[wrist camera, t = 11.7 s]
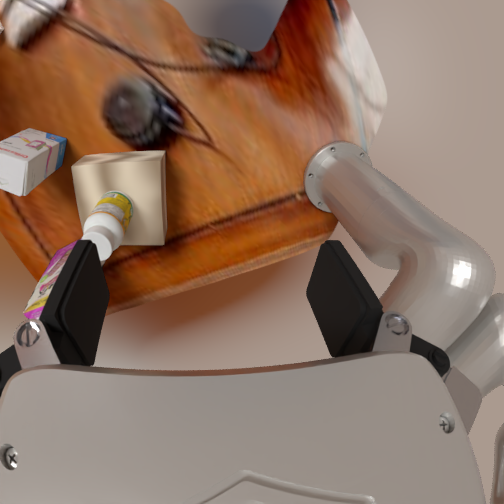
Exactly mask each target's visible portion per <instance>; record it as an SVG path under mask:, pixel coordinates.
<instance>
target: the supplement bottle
mask: <svg viewBox="0 0 504 504" xmlns="http://www.w3.org/2000/svg"><path fill="white" fill-rule="evenodd" d="M132 216H133V203H132V201H131V199H130V197H129V196H128V195H126V194H125V193H123V192H121V191H109V192H107V193H105V194H104V195H103V196H102V197H101V199H100V200H99V202H98V203H97V205H96V206H95V208H94V209H93V211H92V212H91V214H90V215H89V217H88V218H87V220H86V222H85V224H84V230H83V231H84V235H83V237H82V239H81V240H92V242H93V243H95V244H96V246H97V250H98V254H99V258H100V261H103V260H106V259H108V258H109V257H110V255H111V254H112V251H113V250H115V249H117V248H118V247H119V246H120V244H121V243H122V240H123V238H124V235H125V233H126V230H127V228H128V225H129V223H130V220H131V218H132Z"/></svg>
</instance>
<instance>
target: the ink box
mask: <svg viewBox="0 0 504 504" xmlns="http://www.w3.org/2000/svg"><path fill="white" fill-rule="evenodd" d="M66 142H67V139H66V138H63V137H60V136H57V135H53V134H49V133H46V132H42V131H38V130H34V129H31V128H28V129H26V130H24V131H22V132H19V133H17V134H15V135H13V136H11V137H9V138H7V139H5V140H3V141H1V142H0V189H3V190H5V191H8V192H10V193H13V194H16V195H18V196H21V195H24V196H26V195H27V194H28V193H29V192H30V191H32V190H33V189H34V188H35V187H36V186H37V185H38V184H40V183H41V182H42V181H43V180H44V179H46V178H47V177H48V176H49V175H51V174H52V173H53V172H54V171H56V170H57V169H58V168H60V167H61V166H62V163H63V157H64V152H65V147H66Z"/></svg>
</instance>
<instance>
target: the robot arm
mask: <svg viewBox="0 0 504 504" xmlns="http://www.w3.org/2000/svg"><path fill="white" fill-rule="evenodd" d="M331 148H332V149H331ZM330 149H331V150H330ZM309 174H310V175H309ZM304 189H305V192H306V194H307V196H308V198H309V199H310V201H311V202H312V203H313V204H314V205H315V206H316V207H317V208H319V209H321V210H323V211H326V212H331V213H333V214H334V215H335V217H336V218H337V219H338V220H339V222H340V223H341V224H342V225H343V227H344V228H345V229H346V231H347V232H348V233H349V234H350V236H351V237H352V238H353V240H354V241H355V242H356V243H357V245H358V246H359V248H360V249H361V250H362V251H363V253H364V254H365V255H366V257H367V258H368V259H369V260H370V261H372V262H373V263H374V264H376V265H378V266H380V267H383V268H387V269H395V270H399V272H398V274H397V275H396V277H395V278H394V280H393V281H392V282H391V283H390V286H389V287H388V288H387V290H386V291H385V293H384V294H383V295H382V296H381V297H380V298H379V299H378V298H377V296H376V294H375V293H374V291H373V290H372V288H371V287H370V285H369V283H368V282H367V280H366V279H365V277H364V276H363V274H362V273H361V271H360V270H359V268H358V267H357V265H356V264H355V262H354V261H353V259H352V258H351V256H350V255H349V254H348V252H347V250H346V249H345V248H344V246H343V245H342V243H341V242H340V241H338V240H327V241H325V243H323V244H321V246H320V250H319V253H318V256H317V259H316V262H315V266H314V269H313V272H312V275H311V278H310V281H309V284H308V287H307V291H306V292H307V293H306V294H307V298H308V301H309V303H310V305H311V308H312V310H313V313H314V315H315V318H316V320H317V322H318V325H319V327H320V330H321V332H322V335H323V337H324V340H325V342H326V345H327V347H328V350H329V352H330V355H331V356H332V357H335V358H329V359H323V360H316V361H309V362H302V363H294V364H285V365H277V366H267V367H254V368H242V369H225V370H224V369H223V370H192V371H191V370H190V371H189V370H188V371H167V370H163V371H162V370H135V369H119V368H104V367H92V366H93V365H94V362H95V357H96V352H97V347H98V342H99V338H100V334H101V329H102V325H103V321H104V317H105V313H106V309H107V306H108V302H109V290H108V287H107V283H106V280H105V276H104V273H103V269H102V265H101V262H100V258H99V254H98V250H97V246H96V244H95V243H93V242H92V240H78V241H77V242H76V244H75V245H74V247H73V249H72V251H71V253H70V254H69V256H68V258H67V260H66V262H65V264H64V266H63V268H62V270H61V272H60V274H59V275H58V277H57V279H56V281H55V283H54V285H53V287H52V290H51V292H50V294H49V296H48V298H47V301H46V303H45V305H44V307H43V310H42V312H41V315H40V317H39V320H38V319H34V318H32V319H28V320H25V321H23V322H22V323H21V324H20V325H19V326H18V327H17V328H16V330H15V332H14V336H13V340H14V345H12V346H11V347H9V348H8V349H6V350H5V351H4V352H2V353H1V354H0V504H486V501H485V496H484V490H483V486H482V481H481V477H480V473H479V469H478V465H477V462H476V459H475V455H474V452H473V449H472V446H471V443H470V440H469V437H468V434H469V432H470V429H471V427H472V425H473V422H474V420H475V418H476V415H477V413H478V410H479V408H480V405H481V402H482V398H483V397H485V396H486V395H487V394H488V393H490V392H491V391H492V390H494V389H495V388H497V387H498V386H500V385H503V386H504V294H502V293H497V294H494V295H492V296H491V294H492V291H493V288H494V284H495V268H494V264H493V262H492V260H491V258H490V256H489V255H488V253H487V252H486V251H485V250H484V249H483V248H482V247H481V246H480V245H479V244H478V243H477V242H475V241H474V240H473V239H472V238H470V237H469V236H467V235H466V234H464V233H463V232H461V231H459V230H458V229H456V228H455V227H453V226H452V225H450V224H449V223H447V222H446V221H444V220H443V219H442V218H440V217H439V216H437V215H436V214H434V213H433V212H432V211H431V210H429V209H428V208H427V207H425V206H424V205H423V204H421V203H420V202H419V201H418V200H416V199H415V198H414V197H413V196H411V195H410V194H409V193H407V192H406V191H405V190H403V189H402V188H401V187H400V186H398V185H397V184H396V183H394V182H393V181H392V180H390V179H389V178H387V177H386V176H385V175H383V174H382V173H381V172H379V171H378V170H376V169H375V168H373V167H372V163H371V160H370V158H369V156H368V155H367V153H366V152H365V151H364V150H363V149H362V148H360V147H358V146H357V145H355V144H353V143H350V142H345V141H341V142H333V143H330V144H328V145H325V146H324V147H322V148H321V149H319V150H318V151H317V152H316V153H315V154H314V155H313V156H312V158H311V159H310V161H309V162H308V164H307V167H306V169H305V173H304ZM318 202H319V203H318ZM91 365H92V366H91ZM490 504H504V423H503V425H502V426H501V427H500V428H499V430H498V432H497V435H496V439H495V454H494V473H493V483H492V491H491V498H490Z"/></svg>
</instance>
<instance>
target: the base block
mask: <svg viewBox="0 0 504 504" xmlns="http://www.w3.org/2000/svg"><path fill="white" fill-rule="evenodd" d="M71 168H72V176H73V182H74V189H75V195H76V200H77V206H78V211H79V216H80V221H81V225H82V230H84V224H85V222H86V220H87V218H88V217H89V215H90V214H91V212H92V211H93V209H94V208H95V206H96V205H97V203H98V202H99V200H100V199H101V197H102V196H103V195H104V194H105V193H107V192H109V191H121V192H123V193H125V194H126V195H128V196H129V197H130V199H131V201H132V203H133V216H132V218H131V220H130V223H129V225H128V228H127V230H126V233H125V235H124V238H123V240H122V243H121V244H120V245H164V243H165V237H166V232H167V211H166V172H165V151H137V152H119V153H106V154H94V155H85V156H83V157H82V158H81V159H80V160H78V161H77V162H76V163H75V164H74V165H72V166H71ZM83 234H84V231H83Z"/></svg>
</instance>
